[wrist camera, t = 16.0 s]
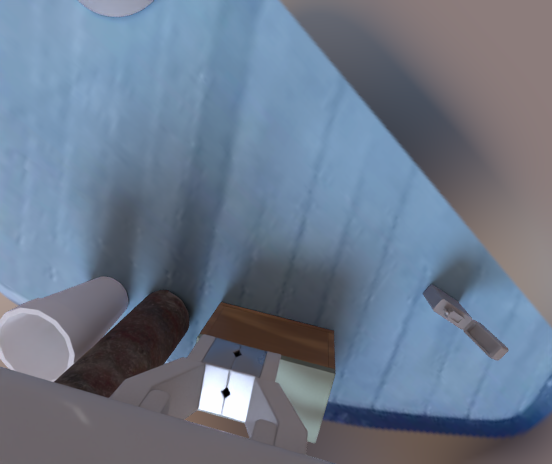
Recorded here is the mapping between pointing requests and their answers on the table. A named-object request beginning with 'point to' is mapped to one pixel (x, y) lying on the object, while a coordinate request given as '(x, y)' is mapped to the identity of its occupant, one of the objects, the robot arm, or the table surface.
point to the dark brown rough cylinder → (131, 345)
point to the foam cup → (60, 327)
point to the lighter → (464, 322)
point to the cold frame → (272, 334)
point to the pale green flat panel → (303, 390)
